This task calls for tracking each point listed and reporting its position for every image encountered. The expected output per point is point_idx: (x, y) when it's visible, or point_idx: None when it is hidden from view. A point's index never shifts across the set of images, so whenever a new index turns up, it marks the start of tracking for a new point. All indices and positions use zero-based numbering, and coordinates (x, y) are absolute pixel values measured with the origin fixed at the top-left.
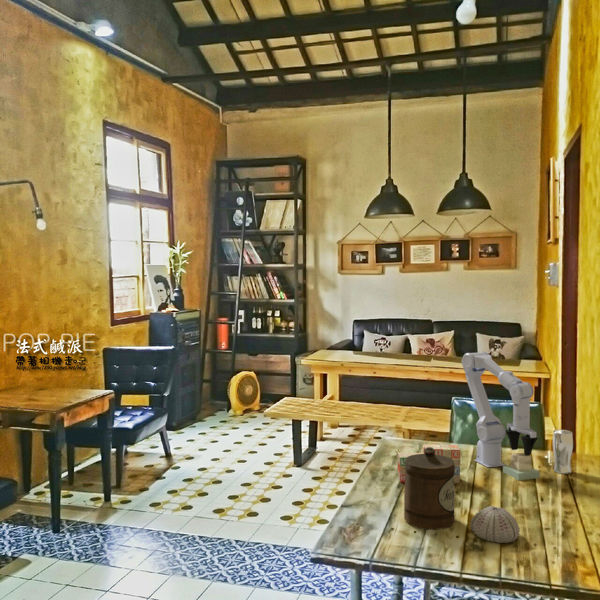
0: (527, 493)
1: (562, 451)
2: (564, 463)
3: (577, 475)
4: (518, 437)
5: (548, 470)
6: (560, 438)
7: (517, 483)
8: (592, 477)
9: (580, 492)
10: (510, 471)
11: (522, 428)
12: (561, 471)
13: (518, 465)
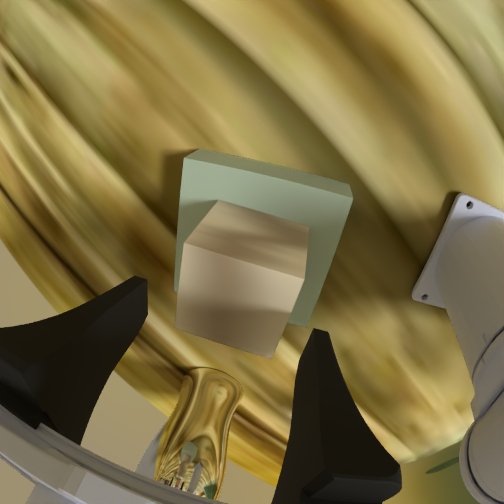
0: (57, 57)
1: (157, 440)
2: (178, 403)
3: (161, 380)
4: (286, 457)
5: (246, 370)
6: None
7: (164, 104)
8: (134, 386)
9: (30, 247)
10: (269, 172)
11: (32, 493)
12: (192, 374)
13: (213, 216)
